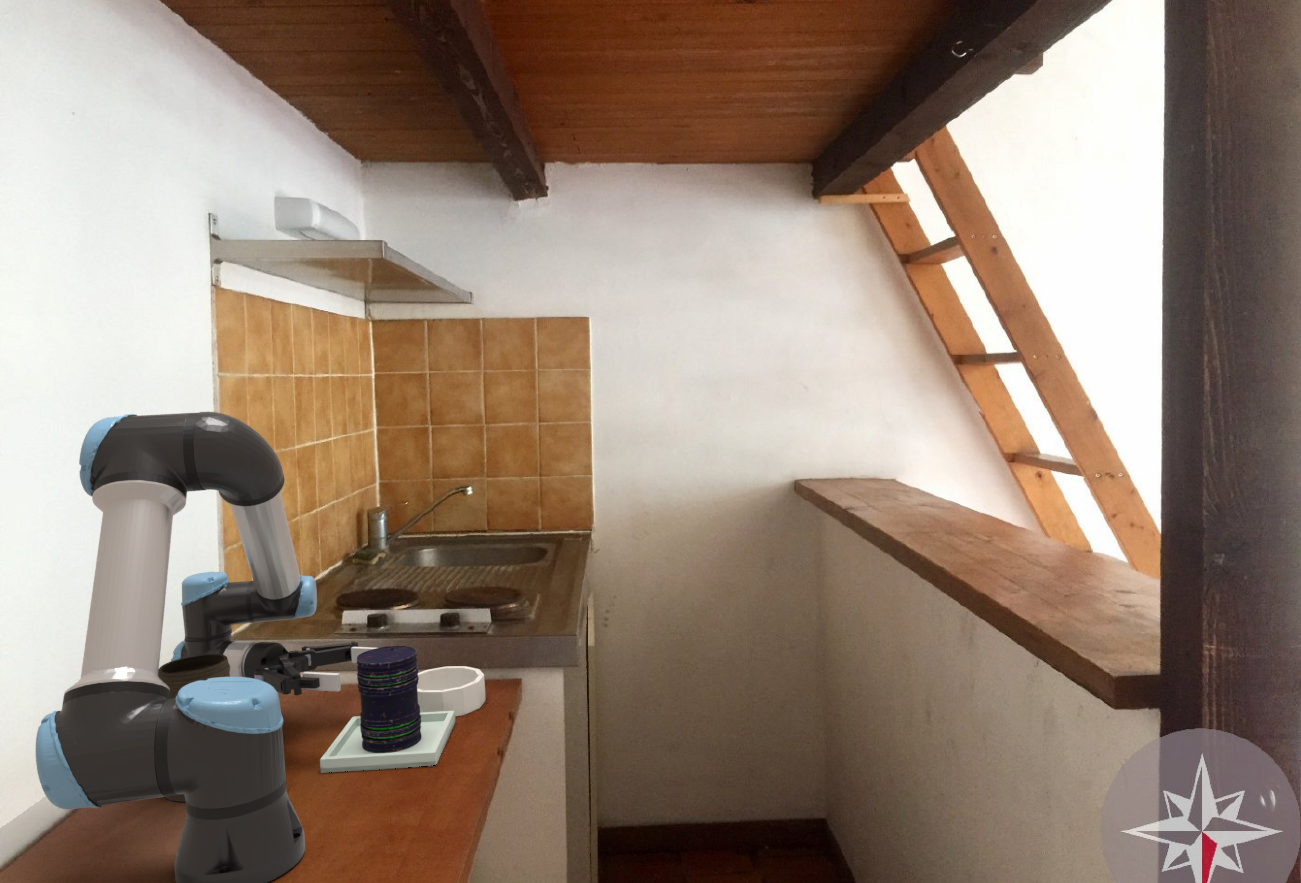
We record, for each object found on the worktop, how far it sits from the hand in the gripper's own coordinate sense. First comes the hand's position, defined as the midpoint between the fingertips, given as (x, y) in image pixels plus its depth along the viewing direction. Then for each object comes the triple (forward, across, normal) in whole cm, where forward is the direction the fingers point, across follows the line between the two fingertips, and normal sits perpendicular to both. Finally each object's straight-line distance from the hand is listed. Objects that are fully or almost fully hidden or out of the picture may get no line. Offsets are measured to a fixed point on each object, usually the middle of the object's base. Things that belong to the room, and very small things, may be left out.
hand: (363, 668), depth 148 cm
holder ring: (+5, -19, -13) cm, 23 cm away
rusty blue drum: (+5, 0, -12) cm, 13 cm away
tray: (+5, 0, -13) cm, 14 cm away
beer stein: (-19, +19, -13) cm, 30 cm away
